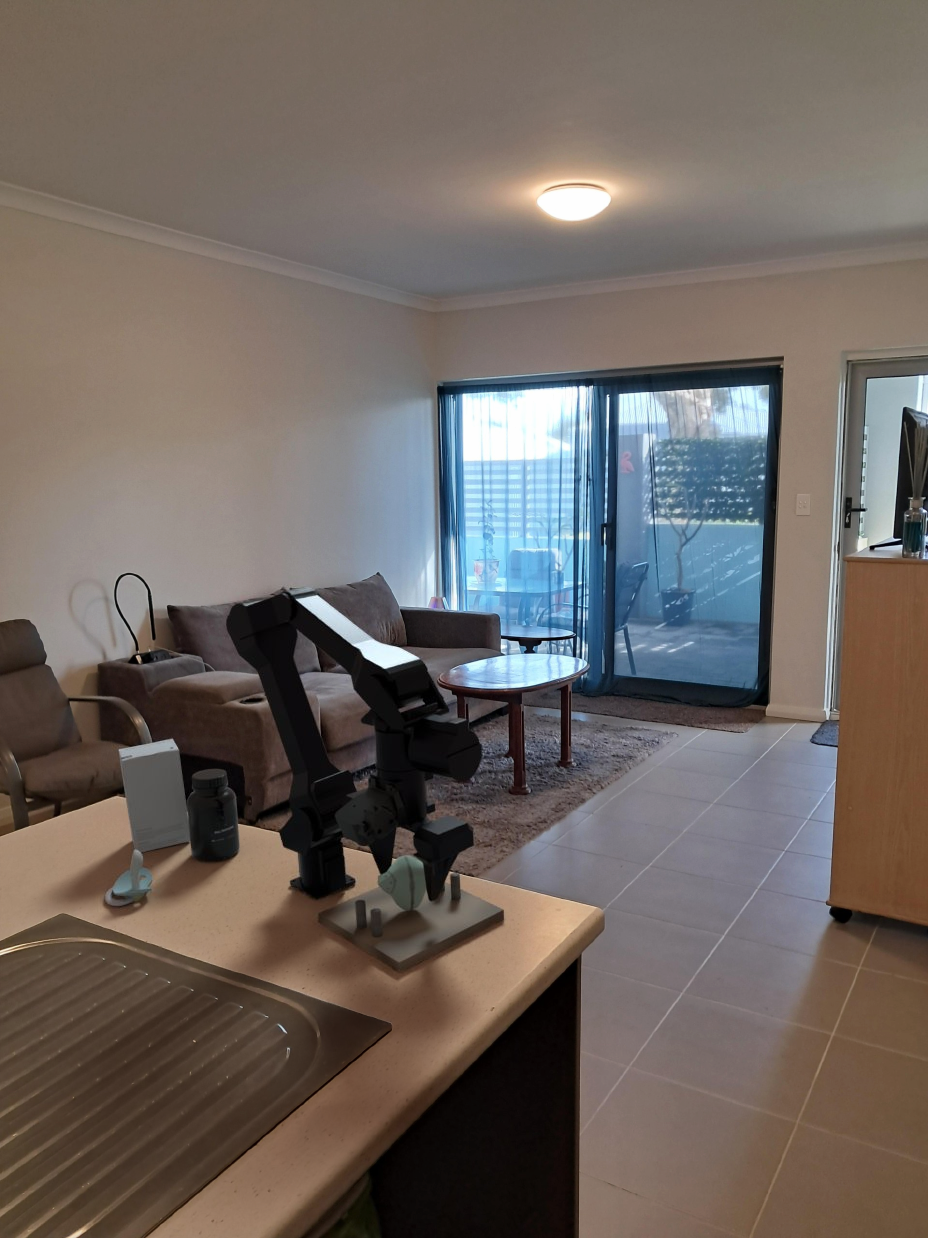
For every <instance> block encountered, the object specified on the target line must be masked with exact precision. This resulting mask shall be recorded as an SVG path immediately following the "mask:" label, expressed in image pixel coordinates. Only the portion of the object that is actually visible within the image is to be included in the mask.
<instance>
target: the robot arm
mask: <svg viewBox="0 0 928 1238" xmlns="http://www.w3.org/2000/svg"><path fill="white" fill-rule="evenodd" d="M225 625H226V632H227V633H228V636H229V637H230V639H231V641H232V643H233V646H234V648H235V649H236V652H237V654H238V656H239V657H241V658H242V659H243V660H244V661H245V662H246V663H248V664H249V665H250V666H251V667H252V668H253V669H255V670H256V672H257V674H258V677H259V681H260V683H261V686H262V689H263V692H264V694H265V697H266V700H267V703H268V706H269V708H270V712H271V715H272V718H273V720H274V723H275V726H276V728H277V732H278V735H279V739H280V741H281V743H282V746H283V750H284V752H285V755H286V758H287V762H288V764H289V766H290V770H291V772H292V781H291V785H290V786H291V787H290V790H289V795H288V803H289V806H290V810H291V816H290V817H289V819H288V820H287V821H286V822H285V824H284V825H283V826H282V827H281V829H280V830H279V832H278V834H279V837H280V840H281V843H282V847H283V848H285V849H287V850H290V851H292V852H294V853H297V861H298V873H299V876H298V877H295V878H293V879H290V880H289V885H290V886H291V887H294V888H295V889H297V890H298V891H299V892H301V893H303V894H305V895H307V896H309V897H310V898H312V899H313V900H318V899H321V898H324V897H326V896H329V895H331V894H333V893H335V892H339V891H340V890H342V889H345V888H347V887H350V886H352V885H355V884H356V878H355V877H353V876H351V875H349V874H347V871H346V869H347V867H346V857H345V854H344V842H343V841H342V839H343V838H344V839H345V840H349V841H352V842H354V843H356V844H357V845H358V846H360V847H368V848H369V850H370V852H371V855H372V857H373V860H374V862H375V865H376V867H377V869H378V872H379V875H381V874H384V873H386V872H387V871H388V869H389V868H390V867H391V865H392V864H393V856H394V850H395V842H396V835H397V834H396V833H397V828H402V829H404V830H407V831H409V832H411V833H413V836H412V842H413V847H414V849H415V850H416V852H415V853H413V854H412V855H413V857H414V858H415V859H417V860H419V861H421V862H422V863H423V867H424V875H425V882H426V890H427V895H428V899H429V901H434V900H436V899H437V898H438V897H439V894H440V892H441V890H442V887H443V885H444V883H445V882H446V880H447V877H448V876H449V875H450V874H449V873H450V872H451V871H450V870H451V869H452V867H453V865H454V864H455V861H456V860H457V858H458V857H459V854H460V853H462V852H464V851H466V850H468V849H470V848H472V847H474V846H475V836H474V835H475V833H474V826H472V825H471V824H469V822H466V821H464V820H461V819H459V818H456V817H453V816H452V815H449V814H447V815H444V816H441V817H439V818H436V819H434V820H431V819H428V815H429V814H432V813H435V812H436V803H435V802H433V801H431V800H428V788H427V786H428V785H427V781H430V780H433V779H434V776H436V777H441V778H444V779H448V780H453V781H455V782H459V783H463V782H467V781H469V780H470V779H471V778H473V777H474V775H475V774H476V773H477V772H478V769H479V768H480V767H479V766H480V764H481V761H482V756H483V745H482V744H481V742H480V739H479V737H478V735H477V733H475V732H474V731H472V730H469V720H468V719H466V718H462V717H461V718H460V717H455V718H452V717H448V716H445V715H447V714H449V713H450V708H449V706H448V704H447V703H446V701H445V698H444V696H443V695H442V693H441V692H440V690H439V689H438V687H437V685H436V683H435V681H434V679H433V678H432V676H431V675H430V673H429V671H428V670H429V669H428V667H427V665H426V664H425V662H424V660H422V659H421V658H419V657H418V656H416V655H415V654H412V653H410V652H409V651H406V650H405V649H403V648H401V647H398V646H394V645H389V644H386V643H382V642H380V641H377V640H376V639H374V638H373V637H372V636H370V635H369V634H367V633H366V632H365V631H364V630H363V629H361V628H360V627H358V625H356V624H354V622H352V621H351V620H350V619H348V618H347V617H346V616H345V615H343V614H342V613H340V612H339V610H337V609H336V608H335V607H333V606H332V605H331V604H329V603H328V602H327V601H325V600H324V599H323V598H322V597H321V595H320V593H319V592H318V590H317V589H315V588H313V587H312V588H311V587H309V586H304V587H298V588H297V587H296V588H292V589H288V590H282V591H281V592H280V593H277V594H276V595H274V596H270V597H269V596H268V597H264V598H258V599H254V600H248V601H243V602H238V603H235V604H234V605H232V606H231V608H230V610H229V614H228V615H227V617H226V621H225ZM298 632H299V633H300V634H301V635H303V636H304V637H305V638H307V639H308V640H309V641H310V642H311V643H312V644H314V645H315V646H316V647H317V648H319V649H320V650H321V651H322V652H323V653H324V654H326V656H327V657H330V659H332V660H333V661H334V662H336V663H337V665H339V666H340V667H341V668H343V669H344V670H345V672H347V673H348V674H349V676H350V679H351V683H352V687H353V690H354V691H355V693H356V694H357V695H358V696H359V697H360V698H361V700H362V701H363V702H364V703H365V704H366V705H367V706H368V708H370V709H369V710H368V712H366V713H365V714H364V715H363V716H362V717H361V718H360V722H361V724H363V725H367V726H371V727H373V730H374V731H373V732H374V745H375V761H376V771H374V772H371V773H369V777H368V780H367V783H368V785H367V786H368V787H366V788H363V789H360V790H357V787H356V785H355V781H354V777H353V774H352V772H351V771H350V770H349V769H347V768H346V769H344V770H340V768H339V767H337V766H336V765H334V763H333V762H331V760H330V758H329V754H328V752H327V749H326V746H325V744H324V740H323V738H322V735H321V732H320V729H319V727H318V723H317V721H316V718H315V715H314V712H313V709H312V706H311V703H310V701H309V698H308V695H307V692H306V689H305V687H304V684H303V681H302V678H301V675H300V672H299V668H298V667H297V664H296V660H295V653H296V648H297V643H298V638H299V633H298ZM420 702H423V703H424V704H421V705H419V706H414V707H412V708H409V709H406V710H404V711H401V710H400V709H403V708H406V707H409V706H411V705H415V704H418V703H420Z"/></svg>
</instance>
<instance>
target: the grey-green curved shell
mask: <svg viewBox="0 0 928 1238" xmlns="http://www.w3.org/2000/svg"><path fill="white" fill-rule="evenodd" d="M377 885H378V887H379V886H380V887H381V889H382V890H383V891H385V892H386V893H388V894H389V895H391V897H392V898H393V900H394V901H395V903H396V905H398V906H399V907H400V908H402V909H403V910H407V911H411V910H413V909H415V908H417V907H418V906H419V905H420V903H421V901H422V900H423V897H424V894H425V891H426V882H425V875H424V867H423V863H422V862H421V861H420V860H419V859H417V858H416V857H414V856H412V855H409V854H408V855H405V854H404V855H401V856H398V857H397V858H396V859H395V860H394V862H392V865H391V867H390V868H389V869H388V871H387V872H386V873H384V874H381V875H380V874H378V876H377Z"/></svg>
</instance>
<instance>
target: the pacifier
mask: <svg viewBox="0 0 928 1238" xmlns="http://www.w3.org/2000/svg"><path fill="white" fill-rule="evenodd" d="M131 855H132V856H131V861H130V868H129V869H128V870H126V871H125V872H123V873H122V874H121V875H120V876H119V877H118V878H117V879H116V881H115V884H114V885H113V886H112V887H110V888H109V889H108V890H107V891H106V893H105V895H104V901H105V902H106V903H107V904H108V905H109V906H112V907H122V906H125V905H128V904H131V903H132V902H136V901H139V900H140V899H142V898H143V897H144V895H145V894H146V893H148V892H152V887H150V886H151V884H152V882H153V874H152V871H150V870H149V869H147V867H143V864H144V857H143V854H142V852H140V851H138V850H135V849H133V851H132V854H131ZM141 878H145V879H142V880H141ZM113 895H115V896H121V897H124V899H115V898H113Z"/></svg>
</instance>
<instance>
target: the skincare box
mask: <svg viewBox="0 0 928 1238" xmlns="http://www.w3.org/2000/svg"><path fill="white" fill-rule="evenodd" d="M118 756H119V764H120V770H121V771H120V772H121V776H122V781H123V782H122V783H123V788H124V789H123V791H124V794H125V795H124V796H125V802H126V808H127V814H128V820H129V827H130V834H131V839H132V844H133V847H134V850H138V851H140V852H141V853H145V852H149V851H153V850H158V849H162V848H167V847H171V846H174V845H181V844H184V843H190V833H189V822H188V811H187V800H186V794H185V787H184V779H183V773H182V771H183V770H182V765H181V764H182V763H181V756H180V749H179V747H178V745H177V744H176V742H175V740H174V739H173V738H169V739H165V740H160V741H159V740H158V741H155V742H151V743H146V744H141V745H136V746H131V747H124V748H119V749H118Z"/></svg>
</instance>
